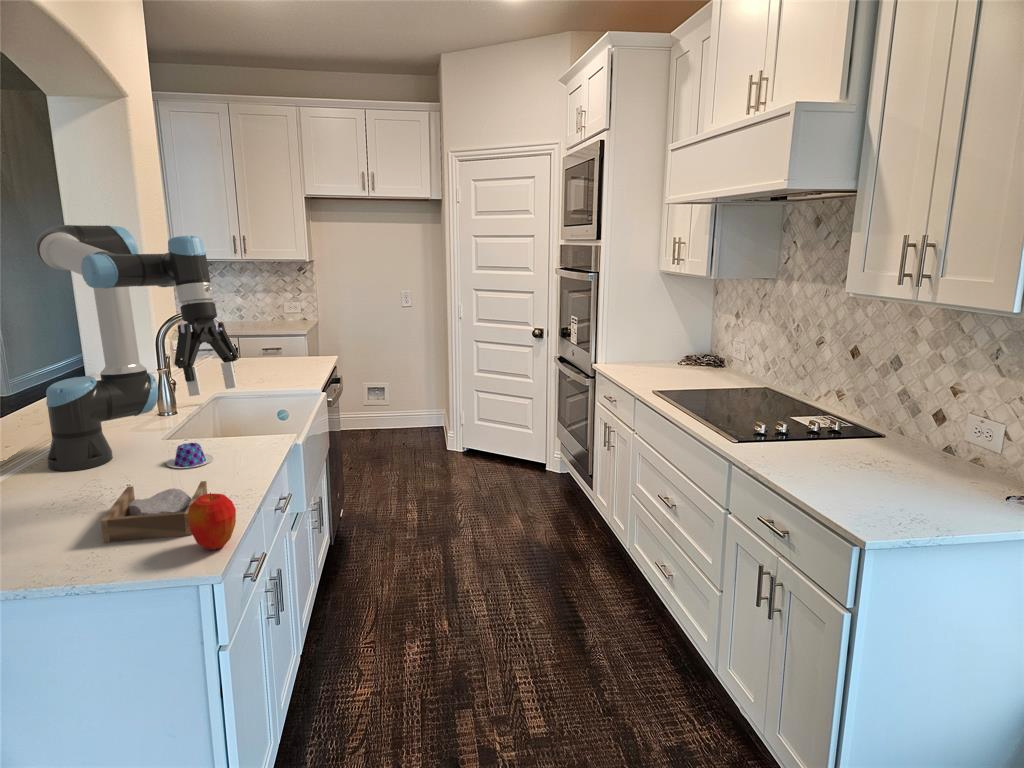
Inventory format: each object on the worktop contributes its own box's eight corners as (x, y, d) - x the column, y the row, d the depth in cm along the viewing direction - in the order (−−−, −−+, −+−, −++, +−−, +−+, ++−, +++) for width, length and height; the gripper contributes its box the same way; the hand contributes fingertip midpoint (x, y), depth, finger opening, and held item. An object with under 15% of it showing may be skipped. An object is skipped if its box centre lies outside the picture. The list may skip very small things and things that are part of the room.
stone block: (199, 518, 154) (179, 499, 159) (198, 500, 152) (178, 482, 157) (146, 536, 145) (126, 515, 150) (145, 518, 143) (125, 498, 148)
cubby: (130, 506, 154) (127, 486, 153) (208, 500, 159) (206, 481, 158) (103, 543, 136) (100, 520, 135) (192, 534, 141) (190, 513, 139)
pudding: (213, 467, 182) (212, 449, 180) (165, 472, 177) (163, 454, 176) (213, 454, 192) (212, 437, 191) (167, 458, 187) (165, 441, 186)
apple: (183, 545, 136) (178, 491, 133) (227, 532, 142) (223, 480, 139) (200, 561, 129) (195, 505, 127) (245, 547, 136) (241, 493, 133)
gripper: (174, 300, 141) (193, 396, 143) (242, 301, 165) (257, 383, 167) (144, 305, 142) (164, 400, 144) (216, 305, 167) (231, 387, 169)
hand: (214, 391), depth 156 cm, fingers open, 13 cm apart
